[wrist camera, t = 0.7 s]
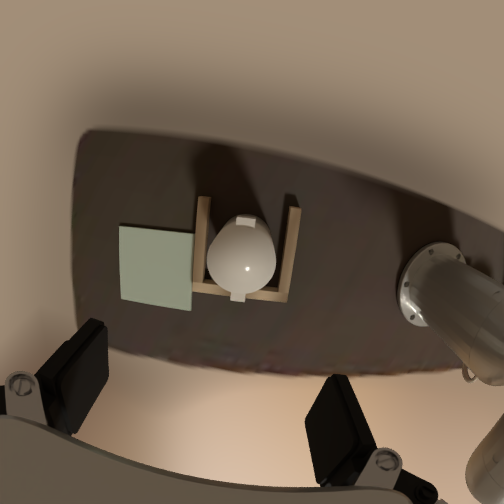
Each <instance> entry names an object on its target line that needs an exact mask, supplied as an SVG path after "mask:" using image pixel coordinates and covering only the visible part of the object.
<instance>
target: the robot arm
mask: <svg viewBox="0 0 504 504" xmlns="http://www.w3.org/2000/svg"><path fill="white" fill-rule="evenodd" d="M397 300H398V305H399V309H400V311H401V313H402V314H403V316H404V317H405V318H406V319H407V320H408V321H409V322H410V323H412V324H414V325H416V326H429V327H430V328H431V329H432V330H433V331H434V332H435V333H436V334H437V335H438V336H439V337H440V338H441V339H442V340H443V341H444V342H445V343H446V344H447V345H448V346H449V347H450V348H451V349H452V351H453V352H454V353H455V354H456V355H457V356H458V357H459V358H460V359H461V360H462V361H463V362H464V364H465V365H466V366H467V367H468V368H469V369H470V370H471V371H472V372H473V373H474V374H475V375H476V377H477V378H478V379H479V380H481V381H482V382H484V383H485V384H488V385H492V386H503V385H504V285H503V284H501V283H500V282H498V281H496V280H494V279H493V278H491V277H489V276H487V275H485V274H484V273H482V272H480V271H478V270H476V269H474V268H472V267H470V266H469V265H467V264H466V262H465V259H464V257H463V255H462V253H461V252H460V250H459V249H458V248H456V247H455V246H453V245H451V244H449V243H446V242H433V243H430V244H428V245H426V246H424V247H422V248H421V249H420V250H419V251H417V252H416V253H415V254H414V255H413V257H412V258H411V259H410V260H409V262H408V263H407V265H406V266H405V268H404V270H403V272H402V274H401V277H400V281H399V284H398V290H397ZM108 377H109V366H108V330H107V327H106V326H104V322H102V321H99V320H96V319H94V318H90V319H89V320H88V321H87V322H86V323H85V324H84V325H83V326H82V327H81V328H80V329H79V330H78V331H77V332H76V333H75V334H74V335H73V336H72V337H71V339H70V340H68V341H65V342H64V343H63V344H62V345H61V346H60V347H59V348H58V350H56V352H55V353H54V354H53V355H52V356H51V357H50V358H49V359H48V360H47V361H46V362H45V364H44V365H43V366H42V367H41V368H40V369H39V370H38V372H37V373H36V374H35V375H32V374H31V373H28V372H25V371H17V372H14V373H12V374H10V375H9V376H8V377H7V379H6V381H5V385H3V386H0V504H448V503H446V502H445V501H444V500H443V499H441V500H438V492H437V489H436V488H435V487H434V485H432V484H431V483H429V482H427V481H425V480H423V479H421V478H419V477H417V476H415V475H413V474H411V473H409V472H407V471H405V470H404V469H402V459H401V457H400V455H399V454H398V453H397V452H395V451H394V450H392V449H389V448H377V446H376V443H375V441H374V438H373V436H372V433H371V431H370V428H369V426H368V423H367V421H366V419H365V417H364V414H363V412H362V410H361V407H360V405H359V403H358V400H357V398H356V395H355V393H354V391H353V389H352V386H351V384H350V382H349V380H348V377H347V376H346V375H340V374H333V375H332V376H331V377H328V378H327V379H326V381H325V383H324V385H323V387H322V389H321V391H320V393H319V394H318V396H317V398H316V400H315V402H314V404H313V405H312V407H311V409H310V411H309V413H308V414H307V416H306V418H305V428H306V433H307V438H308V442H309V448H310V452H311V458H312V463H313V467H314V473H315V478H316V482H317V483H318V484H320V487H271V486H257V485H246V484H237V483H229V482H222V481H215V480H209V479H204V478H198V477H193V476H188V475H183V474H179V473H175V472H170V471H167V470H163V469H159V468H155V467H152V466H148V465H145V464H142V463H139V462H135V461H132V460H129V459H126V458H124V457H121V456H118V455H115V454H113V453H110V452H107V451H105V450H102V449H99V448H97V447H94V446H92V445H90V444H87V443H85V442H83V441H80V440H78V439H76V438H73V437H71V435H72V434H73V433H74V434H76V433H77V432H78V430H79V429H80V427H81V425H82V423H83V421H84V420H85V418H86V416H87V414H88V412H89V411H90V409H91V407H92V406H93V404H94V402H95V401H96V399H97V397H98V396H99V394H100V392H101V390H102V389H103V387H104V385H105V384H106V382H107V380H108ZM465 475H466V477H465V478H466V483H467V486H468V488H469V490H470V492H471V494H472V495H473V496H474V497H475V498H476V499H477V500H478V501H479V502H480V503H482V504H504V414H503V415H502V416H501V418H500V419H499V421H498V422H497V423H496V424H495V426H494V427H493V428H492V429H491V431H490V432H489V433H488V434H487V436H486V437H485V438H484V439H483V441H482V442H481V443H480V444H479V445H478V447H477V448H476V449H475V451H474V452H473V454H472V455H471V457H470V459H469V461H468V464H467V467H466V473H465Z"/></svg>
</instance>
